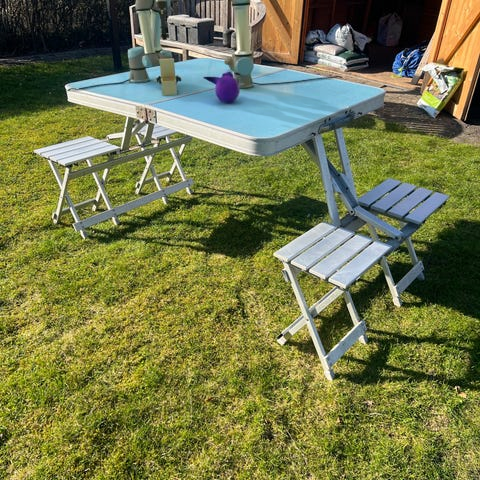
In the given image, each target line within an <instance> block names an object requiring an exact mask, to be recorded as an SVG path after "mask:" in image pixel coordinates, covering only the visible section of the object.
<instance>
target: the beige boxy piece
mask: <svg viewBox="0 0 480 480" xmlns="http://www.w3.org/2000/svg"><path fill="white" fill-rule="evenodd" d="M161 57H162V59H159V62H160V66H159V70H160V76H161V78H164V77H175V76H176V68H175V67H176V66H175V58H173V57H172V59H171V55H162V56H161ZM163 58H170V59H163Z"/></svg>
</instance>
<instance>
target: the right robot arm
mask: <svg viewBox="0 0 480 480" xmlns="http://www.w3.org/2000/svg"><path fill="white" fill-rule="evenodd" d="M155 7H156V8H160V11H159V15H160V19H161V27H160V28H161V39H162V40H161V41H167V40H168V36H167V23H166V12H165V11H164V8H166V9H167V8H169V7H168V4H167V1H166V0H156V1H155ZM250 7H251V0H231V8H233V10H234V24H235V25H234V26H235V27H234V28H235V42H236V45H235V46H236V50H235V51H236V52H234V51H233V53H234V56H233V57H234V71H233V78H234V79H236V81H237V82H238V84H239V89H240V90H241V89H250V88H253V87H254V85H258V86H266V85H267V86H268V85H284V84H294V83H302V82H309V81H315V80H324V79H325V80H327V79H335V78H340V79H343V77H342V76H340V75H334V76H325V77H316V78H307V79H301V80H294V81H284V82H283V81H282V82H265V83H264V82H263V83H259V82H254V81H253V78H252V75H251V74H252V72H253V71H254V66H255V63H254V59H253V58H254V56H253V51H252V50H251V46H250V45H251V44H250V42H251V41H250V22H249V21H250V20H249V19H250V18H249V17H250V16H249V8H250Z"/></svg>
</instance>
